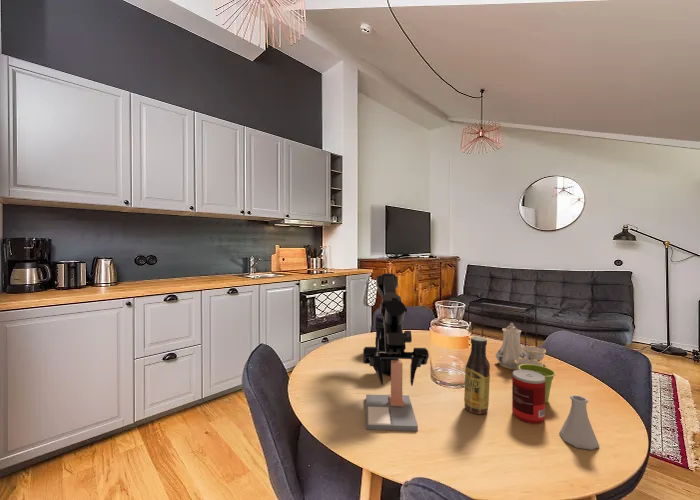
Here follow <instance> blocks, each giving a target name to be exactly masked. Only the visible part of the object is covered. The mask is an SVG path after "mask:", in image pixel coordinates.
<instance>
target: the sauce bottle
mask: <svg viewBox="0 0 700 500" xmlns="http://www.w3.org/2000/svg"><path fill="white" fill-rule="evenodd" d="M470 344H471V345H470V346H471V347H470V349H471V350H470V354H469V357H468V360H467V362H466V365H465V372H464V373H465V375H464V377H465V378H464V397H463V400H464V401H463V402H464V407H465V409H466V410H467V411H468V412H470V413H472V414H475V415H484V414H486V413H488V411H489V403H490V381H491V380H490V378H491V377H490V376H491V375H490V370H491V363H490V362H489V360H488V359H487V353H486V352H487V344H488V340H487V339H486V338H485V337H482V336H472V337H471V338H470Z"/></svg>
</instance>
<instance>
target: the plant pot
mask: <svg viewBox="0 0 700 500" xmlns="http://www.w3.org/2000/svg"><path fill="white" fill-rule="evenodd" d="M518 368H519V370H530V371H534V372H537V373H540V374H542V375H543V376H544V377H545V404H547V403H548V402H549V398H550V392H551V387H552V384H553V383H552V381H553V380H554V377H555V376H556V372H555V371H554V370H553V369H551V368H549V367H547V366H544V365H543V366H539V365H533V364H522V365H519V367H518Z"/></svg>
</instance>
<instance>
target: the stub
mask: <svg viewBox="0 0 700 500" xmlns="http://www.w3.org/2000/svg"><path fill="white" fill-rule="evenodd" d="M388 395H389V398H390V404H391V406H402V407H404V401H403V397H402V395H403V360H400V359H399V360H391V375H390V393H389V394H388Z"/></svg>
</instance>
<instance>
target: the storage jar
mask: <svg viewBox="0 0 700 500" xmlns="http://www.w3.org/2000/svg"><path fill="white" fill-rule="evenodd" d="M383 327H384V325H383V316H382V313H378V314H376V315H375V342H374V344H375V347H377V351H378V338H380V332H381V329H382V328H383Z"/></svg>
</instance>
